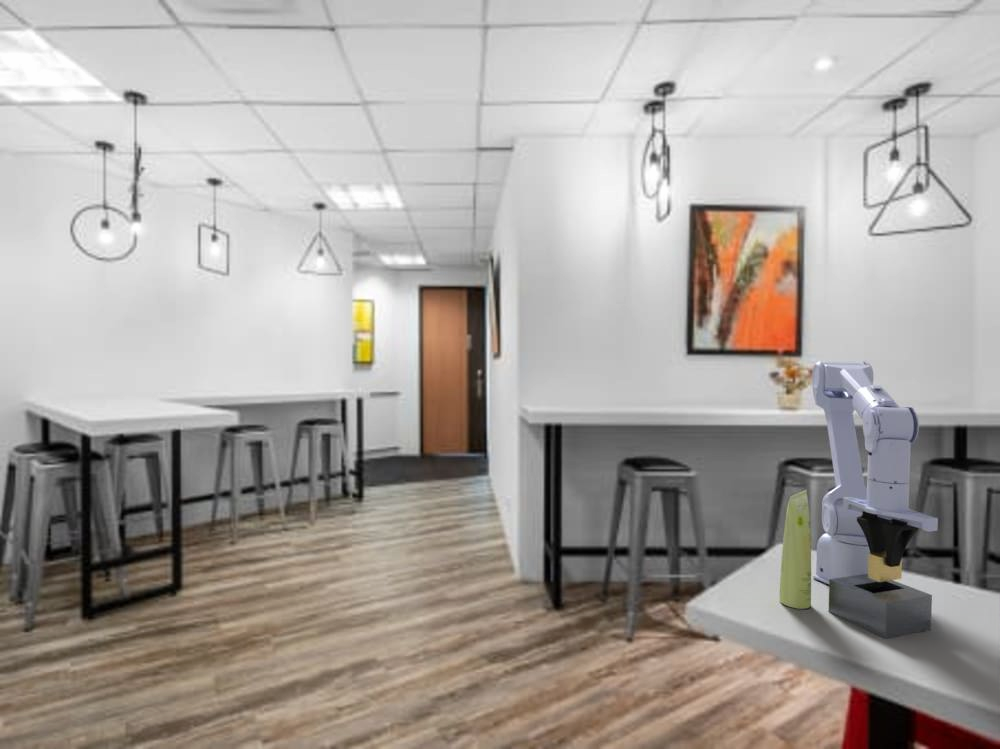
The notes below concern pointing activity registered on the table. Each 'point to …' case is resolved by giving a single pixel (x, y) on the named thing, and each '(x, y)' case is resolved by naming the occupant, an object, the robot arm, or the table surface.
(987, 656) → the table surface
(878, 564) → the block
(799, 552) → the tube
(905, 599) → the box
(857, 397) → the robot arm
